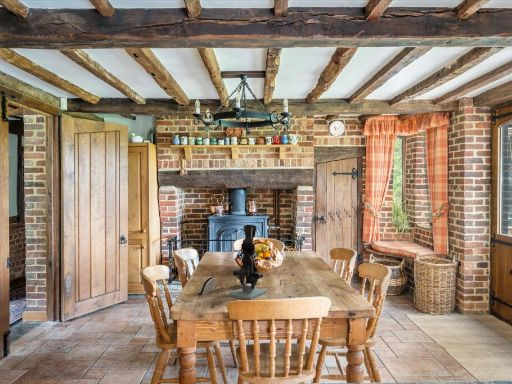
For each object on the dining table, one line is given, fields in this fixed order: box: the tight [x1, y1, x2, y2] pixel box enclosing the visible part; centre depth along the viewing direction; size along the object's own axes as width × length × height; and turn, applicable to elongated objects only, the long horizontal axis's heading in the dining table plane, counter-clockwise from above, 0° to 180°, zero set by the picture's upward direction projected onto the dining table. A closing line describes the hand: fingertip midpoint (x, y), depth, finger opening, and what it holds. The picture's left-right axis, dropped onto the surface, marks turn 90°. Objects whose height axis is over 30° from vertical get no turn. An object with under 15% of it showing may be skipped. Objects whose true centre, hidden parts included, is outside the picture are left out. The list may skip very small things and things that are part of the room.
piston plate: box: [228, 283, 268, 300], centre depth 248 cm, size 18×16×6 cm
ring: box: [241, 283, 254, 291], centre depth 248 cm, size 7×7×3 cm
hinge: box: [196, 276, 218, 296], centre depth 255 cm, size 17×5×10 cm, turn 163°
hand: (248, 288), depth 248 cm, fingers closed on ring, 7 cm apart
